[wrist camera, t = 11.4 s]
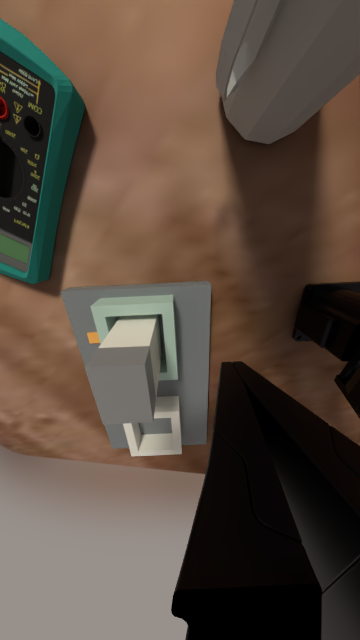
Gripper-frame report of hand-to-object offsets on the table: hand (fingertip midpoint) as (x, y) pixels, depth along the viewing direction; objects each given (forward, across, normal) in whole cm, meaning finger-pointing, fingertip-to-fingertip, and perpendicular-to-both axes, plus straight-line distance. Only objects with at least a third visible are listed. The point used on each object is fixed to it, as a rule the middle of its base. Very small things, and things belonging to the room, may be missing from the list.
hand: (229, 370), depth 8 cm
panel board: (+12, +6, +11) cm, 17 cm away
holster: (+10, +6, +17) cm, 21 cm away
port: (+10, +6, +4) cm, 13 cm away
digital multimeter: (+13, +14, -10) cm, 21 cm away
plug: (+10, +6, +4) cm, 13 cm away
